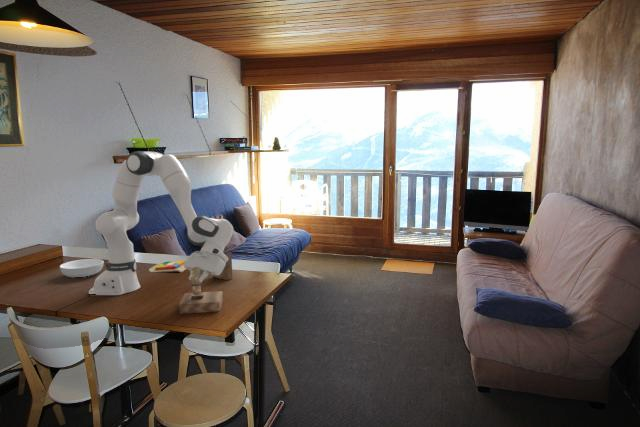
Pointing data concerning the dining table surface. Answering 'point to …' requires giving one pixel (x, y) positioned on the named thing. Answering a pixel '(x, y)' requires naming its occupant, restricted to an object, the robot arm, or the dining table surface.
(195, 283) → the peg
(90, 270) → the serving bowl
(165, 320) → the dining table surface
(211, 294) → the board
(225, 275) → the wooden block
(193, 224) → the robot arm
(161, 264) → the wooden puzzle
